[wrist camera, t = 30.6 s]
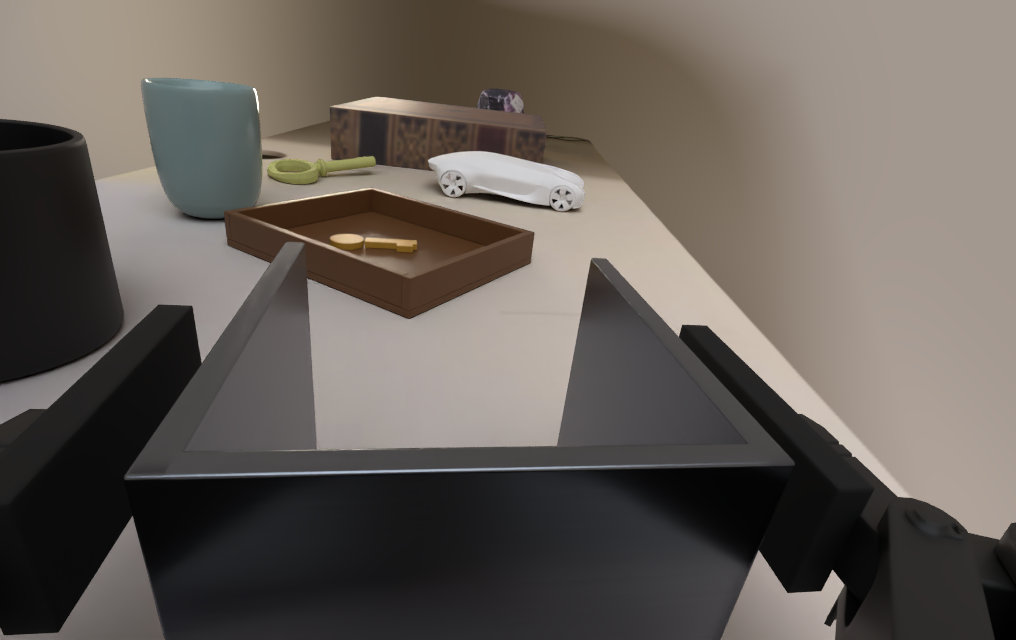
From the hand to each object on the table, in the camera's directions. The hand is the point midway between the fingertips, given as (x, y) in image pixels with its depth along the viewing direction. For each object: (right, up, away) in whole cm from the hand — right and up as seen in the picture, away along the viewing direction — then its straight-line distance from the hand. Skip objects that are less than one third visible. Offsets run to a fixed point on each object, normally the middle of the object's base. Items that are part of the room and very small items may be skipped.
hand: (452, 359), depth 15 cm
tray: (-8, +6, +26) cm, 27 cm away
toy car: (+1, +15, +48) cm, 50 cm away
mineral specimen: (-1, +38, +94) cm, 102 cm away
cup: (-23, +10, +30) cm, 39 cm away
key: (-20, +17, +47) cm, 54 cm away
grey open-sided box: (0, -7, 0) cm, 7 cm away
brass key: (-8, +7, +25) cm, 28 cm away
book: (-8, +26, +68) cm, 73 cm away
